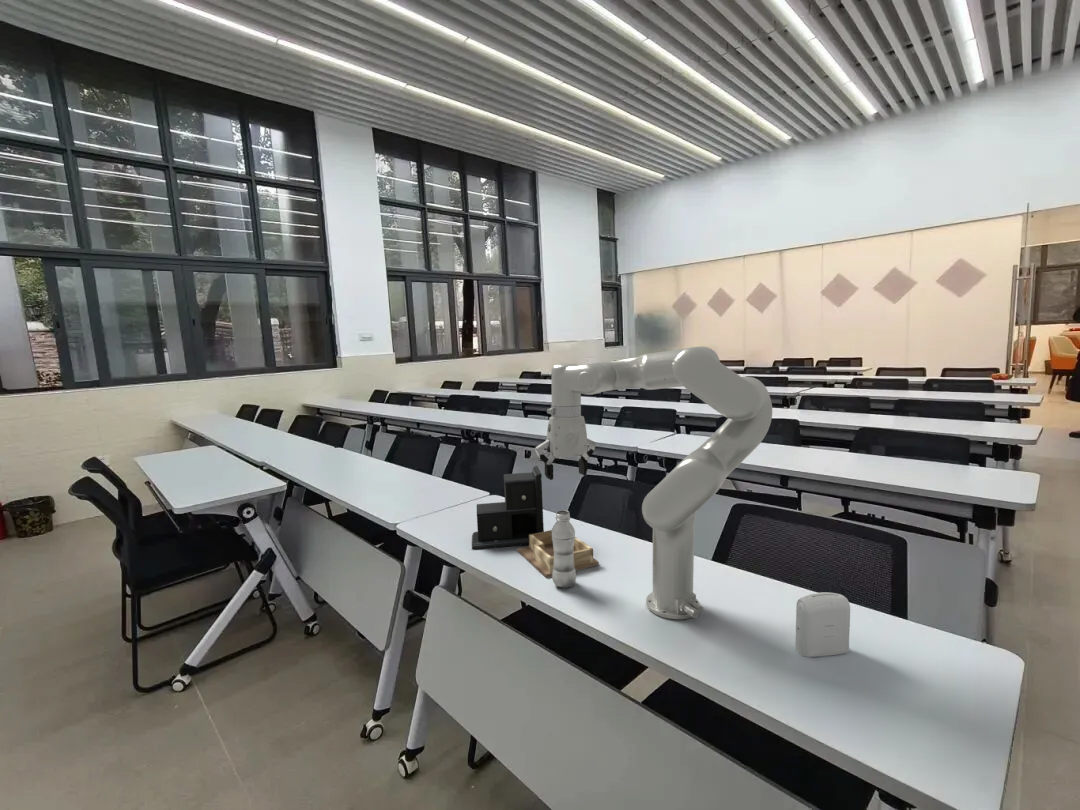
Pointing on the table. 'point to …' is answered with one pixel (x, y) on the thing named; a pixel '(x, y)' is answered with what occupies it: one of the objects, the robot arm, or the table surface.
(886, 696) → the table surface
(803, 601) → the photo printer
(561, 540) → the plastic bottle
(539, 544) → the keyhole plate
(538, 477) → the black drawer cabinet
